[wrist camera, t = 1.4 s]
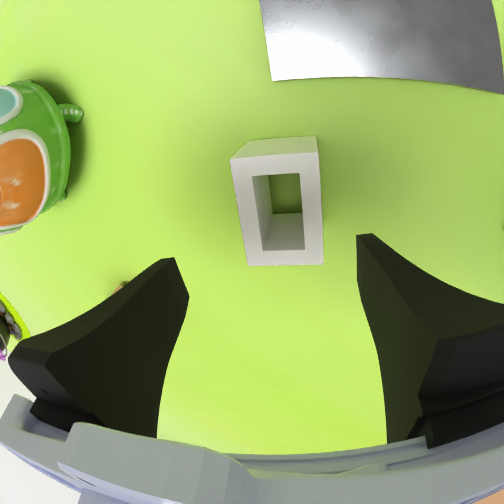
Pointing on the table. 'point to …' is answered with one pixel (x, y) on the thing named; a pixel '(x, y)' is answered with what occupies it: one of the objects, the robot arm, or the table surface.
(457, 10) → the duct plate
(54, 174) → the turtle holder
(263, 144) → the duct sleeve
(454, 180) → the table surface
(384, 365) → the robot arm
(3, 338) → the toy cauldron
